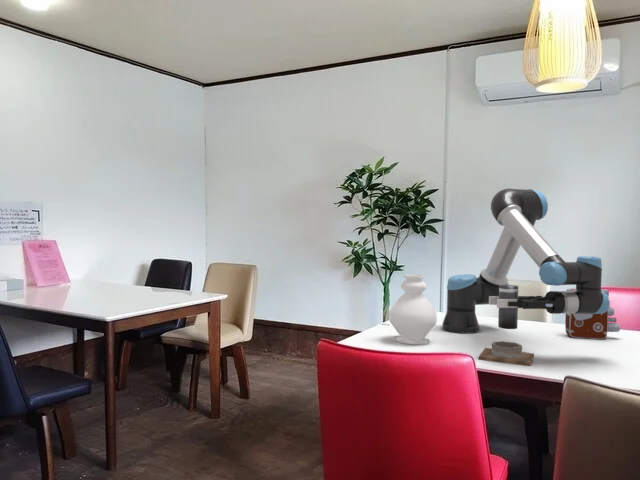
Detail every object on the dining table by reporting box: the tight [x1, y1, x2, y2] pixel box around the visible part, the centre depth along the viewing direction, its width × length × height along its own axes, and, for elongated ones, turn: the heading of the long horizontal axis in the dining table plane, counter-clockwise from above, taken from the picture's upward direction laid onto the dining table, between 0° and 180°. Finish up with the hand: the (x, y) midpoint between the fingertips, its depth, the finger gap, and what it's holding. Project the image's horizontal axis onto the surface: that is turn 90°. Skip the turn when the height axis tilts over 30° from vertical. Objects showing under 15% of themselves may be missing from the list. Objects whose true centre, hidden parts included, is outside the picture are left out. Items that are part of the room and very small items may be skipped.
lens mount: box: [477, 340, 535, 367], centre depth 171 cm, size 16×14×4 cm
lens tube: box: [497, 284, 519, 330], centre depth 170 cm, size 6×6×14 cm
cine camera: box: [565, 287, 621, 340], centre depth 206 cm, size 9×19×20 cm, turn 78°
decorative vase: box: [388, 274, 438, 345], centre depth 194 cm, size 18×18×25 cm
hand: (493, 301), depth 170 cm, fingers closed on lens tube, 6 cm apart
